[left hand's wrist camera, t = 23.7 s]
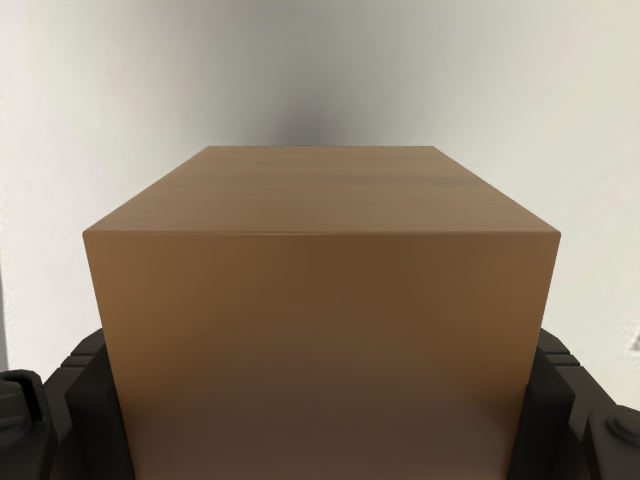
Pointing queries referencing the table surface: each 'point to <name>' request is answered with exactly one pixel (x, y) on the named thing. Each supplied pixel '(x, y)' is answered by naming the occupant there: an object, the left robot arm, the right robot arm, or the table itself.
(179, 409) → the brown wooden cube
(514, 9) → the table surface
